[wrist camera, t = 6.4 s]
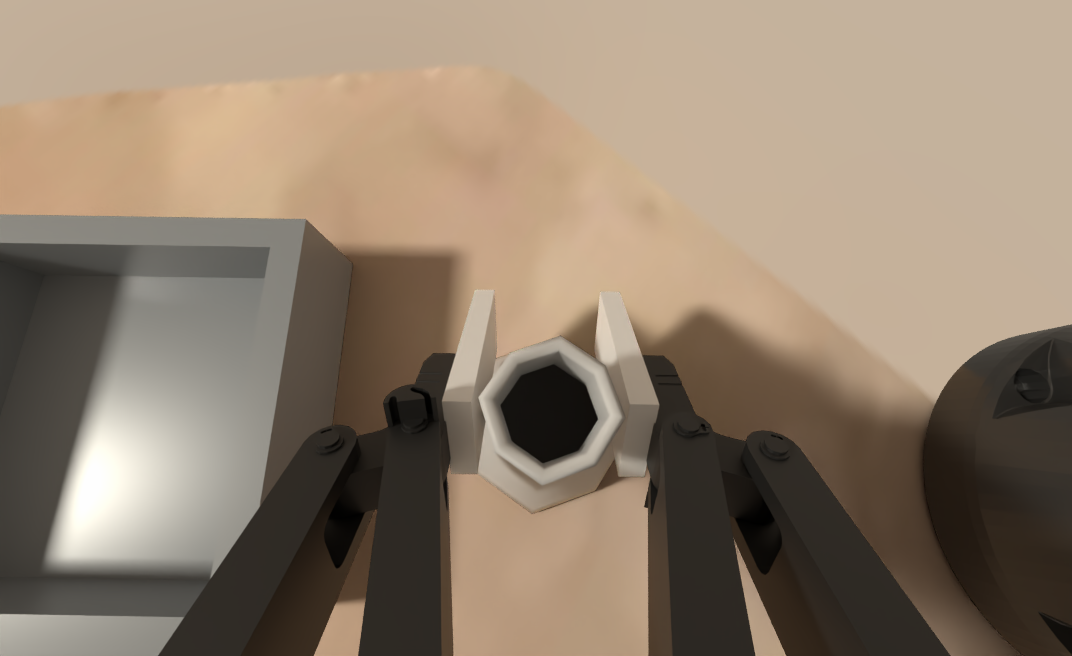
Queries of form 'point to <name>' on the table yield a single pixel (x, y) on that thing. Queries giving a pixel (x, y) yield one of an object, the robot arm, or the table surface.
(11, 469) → the open box
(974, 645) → the table surface
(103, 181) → the table surface
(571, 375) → the flask
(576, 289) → the table surface
